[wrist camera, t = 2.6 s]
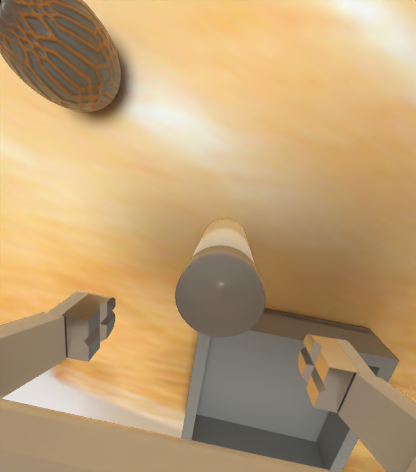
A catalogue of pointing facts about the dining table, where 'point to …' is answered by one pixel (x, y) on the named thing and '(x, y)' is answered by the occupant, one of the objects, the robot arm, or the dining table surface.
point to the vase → (60, 52)
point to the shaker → (221, 283)
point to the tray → (273, 391)
